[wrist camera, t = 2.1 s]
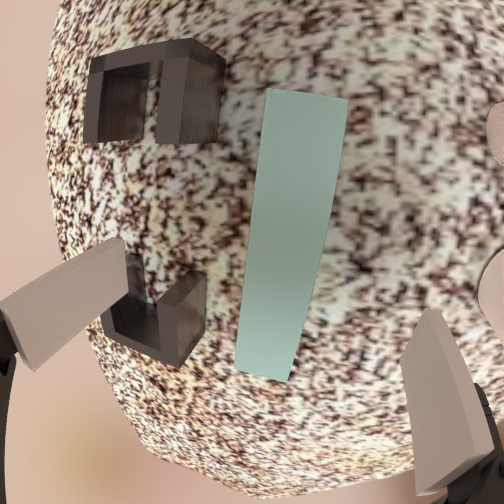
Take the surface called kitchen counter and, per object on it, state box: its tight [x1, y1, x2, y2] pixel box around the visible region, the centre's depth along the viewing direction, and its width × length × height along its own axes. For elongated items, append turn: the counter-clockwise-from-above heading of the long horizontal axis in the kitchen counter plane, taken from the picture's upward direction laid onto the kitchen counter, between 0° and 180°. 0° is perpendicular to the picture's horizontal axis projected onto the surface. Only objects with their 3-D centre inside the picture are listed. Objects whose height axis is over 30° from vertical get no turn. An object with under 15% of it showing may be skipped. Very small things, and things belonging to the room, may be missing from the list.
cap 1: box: [83, 38, 226, 145], centre depth 15 cm, size 6×8×5 cm
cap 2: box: [100, 253, 207, 369], centre depth 22 cm, size 6×8×5 cm
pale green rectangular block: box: [234, 88, 349, 382], centre depth 16 cm, size 16×4×6 cm, turn 173°
